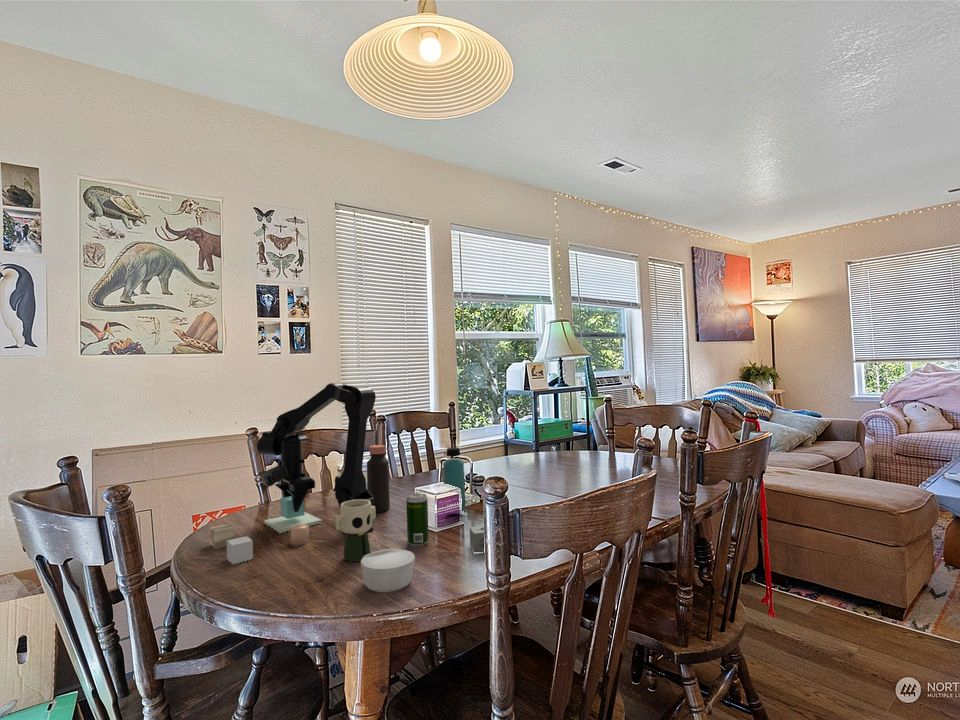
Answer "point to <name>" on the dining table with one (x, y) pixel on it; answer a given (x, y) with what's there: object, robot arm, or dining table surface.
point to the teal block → (290, 508)
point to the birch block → (221, 535)
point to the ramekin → (388, 569)
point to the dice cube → (477, 538)
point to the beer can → (417, 519)
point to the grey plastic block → (239, 550)
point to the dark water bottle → (378, 478)
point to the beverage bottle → (455, 472)
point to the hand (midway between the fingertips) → (292, 509)
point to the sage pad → (291, 522)
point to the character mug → (356, 527)
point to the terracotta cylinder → (299, 534)
